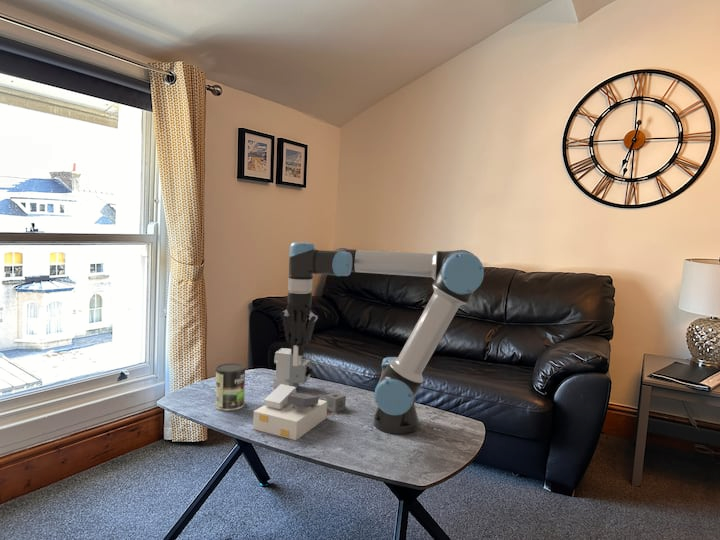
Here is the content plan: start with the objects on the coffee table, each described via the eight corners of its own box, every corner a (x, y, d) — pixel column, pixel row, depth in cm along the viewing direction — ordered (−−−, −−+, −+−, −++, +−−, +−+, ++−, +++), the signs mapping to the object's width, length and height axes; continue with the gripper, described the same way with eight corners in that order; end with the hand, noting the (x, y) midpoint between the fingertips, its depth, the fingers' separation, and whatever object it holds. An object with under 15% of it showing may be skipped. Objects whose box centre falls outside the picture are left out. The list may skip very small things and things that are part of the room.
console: (326, 417, 170) (327, 397, 169) (295, 440, 152) (296, 418, 151) (286, 408, 177) (287, 389, 176) (252, 429, 158) (253, 407, 157)
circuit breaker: (307, 393, 192) (309, 356, 191) (273, 389, 195) (274, 352, 194) (313, 387, 200) (314, 351, 198) (280, 383, 203) (281, 347, 201)
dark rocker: (317, 404, 166) (319, 396, 166) (303, 406, 157) (304, 398, 157) (302, 400, 168) (303, 393, 168) (287, 402, 159) (288, 395, 159)
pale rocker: (296, 393, 168) (295, 387, 167) (280, 409, 159) (279, 403, 159) (281, 390, 170) (280, 383, 170) (264, 405, 162) (264, 399, 161)
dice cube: (325, 408, 179) (326, 395, 178) (335, 405, 182) (336, 392, 182) (335, 412, 175) (335, 399, 175) (345, 409, 179) (345, 396, 178)
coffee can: (249, 402, 180) (251, 365, 179) (234, 412, 171) (235, 373, 169) (225, 398, 183) (226, 361, 182) (208, 408, 174) (209, 369, 172)
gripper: (324, 292, 155) (320, 365, 158) (288, 288, 160) (286, 358, 163) (312, 295, 148) (308, 371, 151) (275, 290, 154) (273, 364, 156)
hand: (297, 364), depth 157 cm, fingers closed
